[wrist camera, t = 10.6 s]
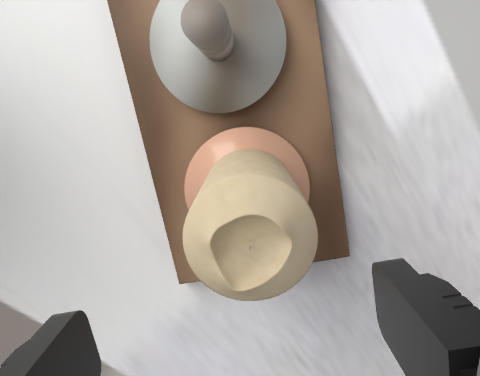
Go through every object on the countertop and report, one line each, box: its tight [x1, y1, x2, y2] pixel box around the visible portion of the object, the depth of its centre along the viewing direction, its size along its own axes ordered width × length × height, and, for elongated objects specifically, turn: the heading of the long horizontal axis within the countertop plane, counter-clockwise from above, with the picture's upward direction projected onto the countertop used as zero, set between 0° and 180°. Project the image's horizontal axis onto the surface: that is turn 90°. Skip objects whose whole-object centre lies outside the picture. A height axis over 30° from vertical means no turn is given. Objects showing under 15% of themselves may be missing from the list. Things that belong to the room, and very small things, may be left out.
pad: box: [184, 127, 310, 210], centre depth 23 cm, size 8×8×1 cm
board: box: [107, 0, 350, 284], centre depth 20 cm, size 12×20×8 cm, turn 11°
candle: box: [183, 148, 318, 301], centre depth 18 cm, size 6×6×10 cm
